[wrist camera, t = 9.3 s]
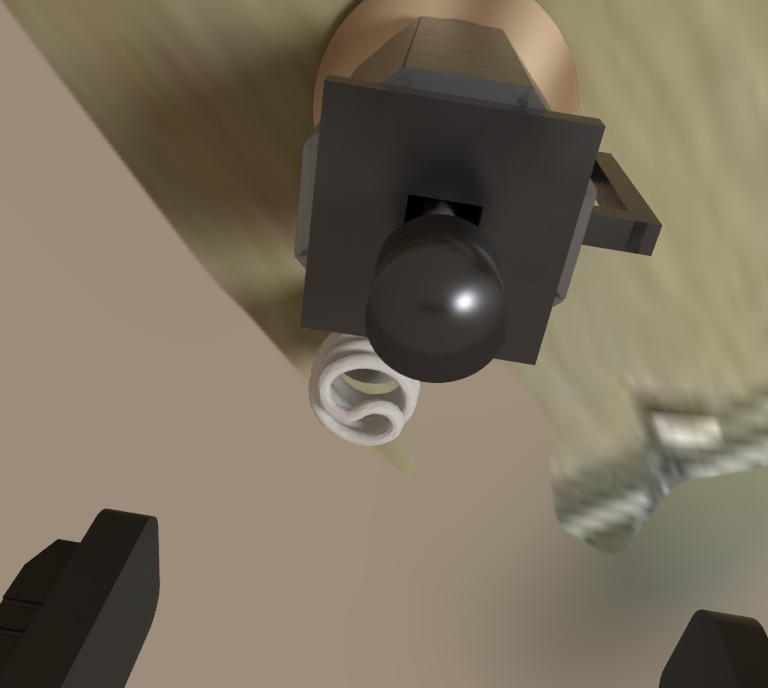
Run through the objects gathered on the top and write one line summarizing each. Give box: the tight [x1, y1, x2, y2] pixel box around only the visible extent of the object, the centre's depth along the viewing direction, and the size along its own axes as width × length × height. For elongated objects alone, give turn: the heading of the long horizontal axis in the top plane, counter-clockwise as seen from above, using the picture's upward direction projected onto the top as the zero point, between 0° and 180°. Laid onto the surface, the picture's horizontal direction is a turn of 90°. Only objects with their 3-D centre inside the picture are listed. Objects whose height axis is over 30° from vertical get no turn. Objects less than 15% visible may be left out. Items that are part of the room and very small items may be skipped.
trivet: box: [313, 0, 580, 128], centre depth 38 cm, size 14×14×1 cm
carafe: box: [294, 16, 662, 365], centre depth 31 cm, size 13×10×17 cm
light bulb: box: [308, 331, 420, 446], centre depth 39 cm, size 6×6×12 cm
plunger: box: [365, 194, 508, 383], centre depth 27 cm, size 7×7×20 cm
